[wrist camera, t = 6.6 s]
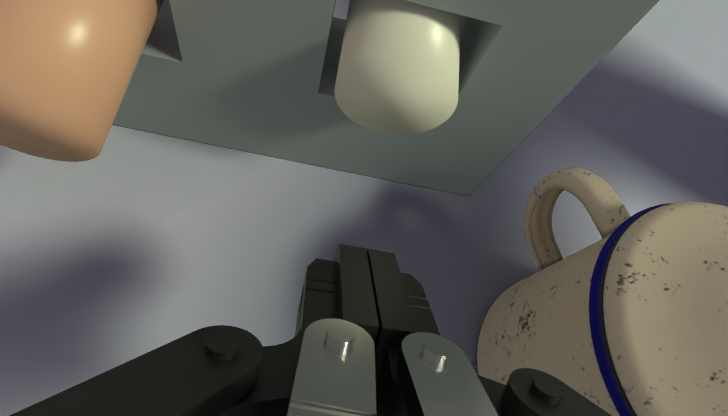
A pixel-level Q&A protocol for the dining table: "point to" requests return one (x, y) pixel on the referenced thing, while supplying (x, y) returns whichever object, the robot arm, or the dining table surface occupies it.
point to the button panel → (319, 72)
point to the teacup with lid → (620, 305)
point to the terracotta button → (67, 71)
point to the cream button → (398, 66)
